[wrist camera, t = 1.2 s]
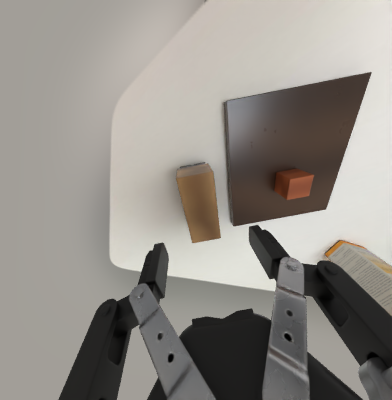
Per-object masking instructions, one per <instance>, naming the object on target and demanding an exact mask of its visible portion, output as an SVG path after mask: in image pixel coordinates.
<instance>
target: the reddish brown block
mask: <svg viewBox="0 0 392 400" xmlns="http://www.w3.org/2000/svg"><path fill="white" fill-rule="evenodd" d="M313 177H314V175H313V174H310V173H307V172H305V171H302V170H300V169H292V170H286V171H281V172H276V180H275V189H274V191H275V192H276V193H278V194H279V195H281V196H282V197H283V198H285V199H286V200H290V199H295V198H301V197H306V196H309V193H310V189H311V185H312V181H313Z"/></svg>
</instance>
